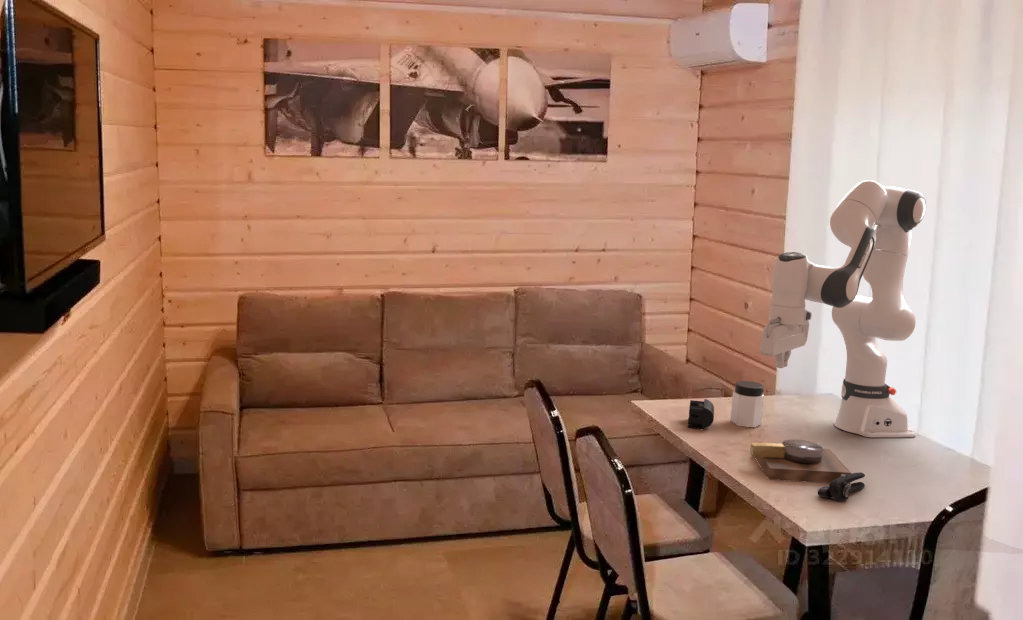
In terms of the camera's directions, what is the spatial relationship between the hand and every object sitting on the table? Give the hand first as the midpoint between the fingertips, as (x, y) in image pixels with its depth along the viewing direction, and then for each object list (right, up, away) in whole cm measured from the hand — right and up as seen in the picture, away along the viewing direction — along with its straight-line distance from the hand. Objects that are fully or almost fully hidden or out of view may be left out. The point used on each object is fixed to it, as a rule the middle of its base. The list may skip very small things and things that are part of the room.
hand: (781, 367), depth 247 cm
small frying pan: (0, -23, -5) cm, 23 cm away
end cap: (-15, -19, +30) cm, 39 cm away
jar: (-1, -19, +33) cm, 38 cm away
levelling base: (+4, -26, -4) cm, 27 cm away
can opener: (+10, -30, -19) cm, 37 cm away
